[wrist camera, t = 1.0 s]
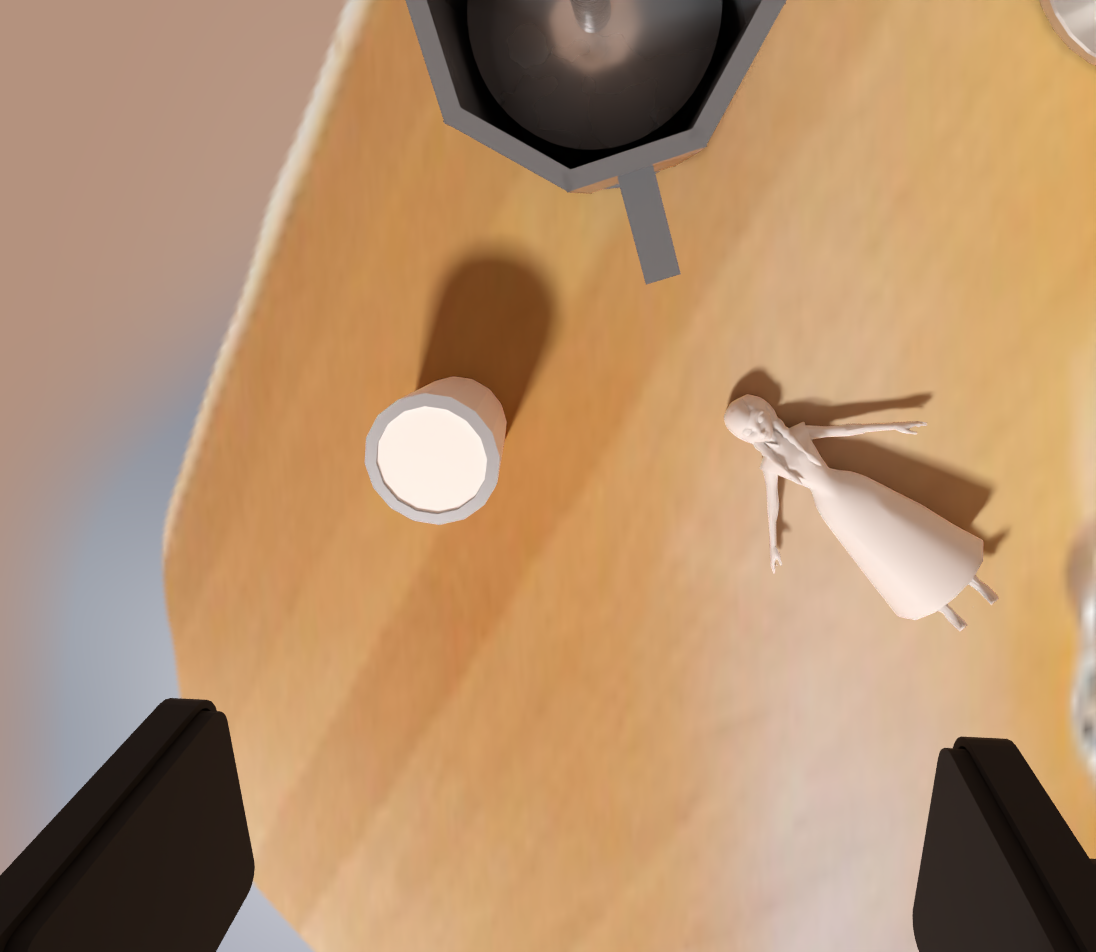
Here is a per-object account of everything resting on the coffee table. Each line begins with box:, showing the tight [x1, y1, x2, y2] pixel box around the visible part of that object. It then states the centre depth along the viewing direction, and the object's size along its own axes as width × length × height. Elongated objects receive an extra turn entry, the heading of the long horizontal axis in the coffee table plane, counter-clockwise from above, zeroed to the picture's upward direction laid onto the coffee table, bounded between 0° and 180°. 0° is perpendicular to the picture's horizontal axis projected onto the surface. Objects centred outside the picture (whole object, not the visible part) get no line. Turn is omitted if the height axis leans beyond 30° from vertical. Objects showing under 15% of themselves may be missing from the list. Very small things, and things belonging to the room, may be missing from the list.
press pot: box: [406, 0, 786, 284], centre depth 32 cm, size 11×14×18 cm
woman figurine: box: [724, 394, 999, 631], centre depth 45 cm, size 12×4×18 cm
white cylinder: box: [365, 376, 507, 525], centre depth 44 cm, size 7×7×7 cm
